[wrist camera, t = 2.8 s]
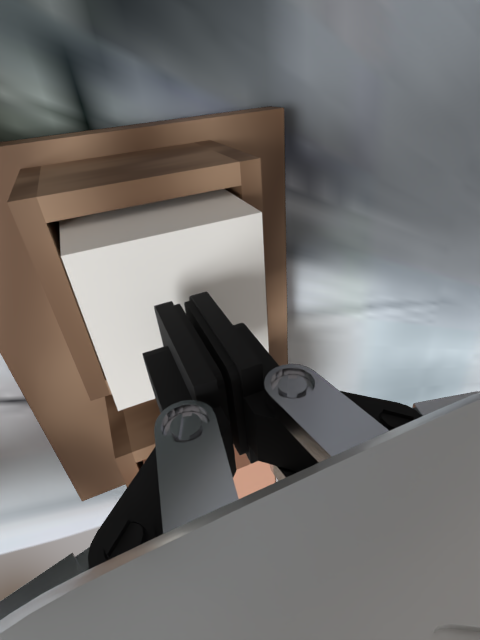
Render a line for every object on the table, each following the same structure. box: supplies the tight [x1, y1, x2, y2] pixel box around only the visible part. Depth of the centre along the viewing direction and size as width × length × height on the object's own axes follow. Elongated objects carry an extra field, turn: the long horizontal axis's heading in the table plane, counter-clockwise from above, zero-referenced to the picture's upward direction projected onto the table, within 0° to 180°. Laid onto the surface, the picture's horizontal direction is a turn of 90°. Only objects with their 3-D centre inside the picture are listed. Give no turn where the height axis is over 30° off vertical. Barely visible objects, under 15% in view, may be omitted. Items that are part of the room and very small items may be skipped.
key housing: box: [0, 106, 288, 501], centre depth 21 cm, size 16×22×7 cm
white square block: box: [59, 189, 269, 411], centre depth 15 cm, size 6×6×5 cm
